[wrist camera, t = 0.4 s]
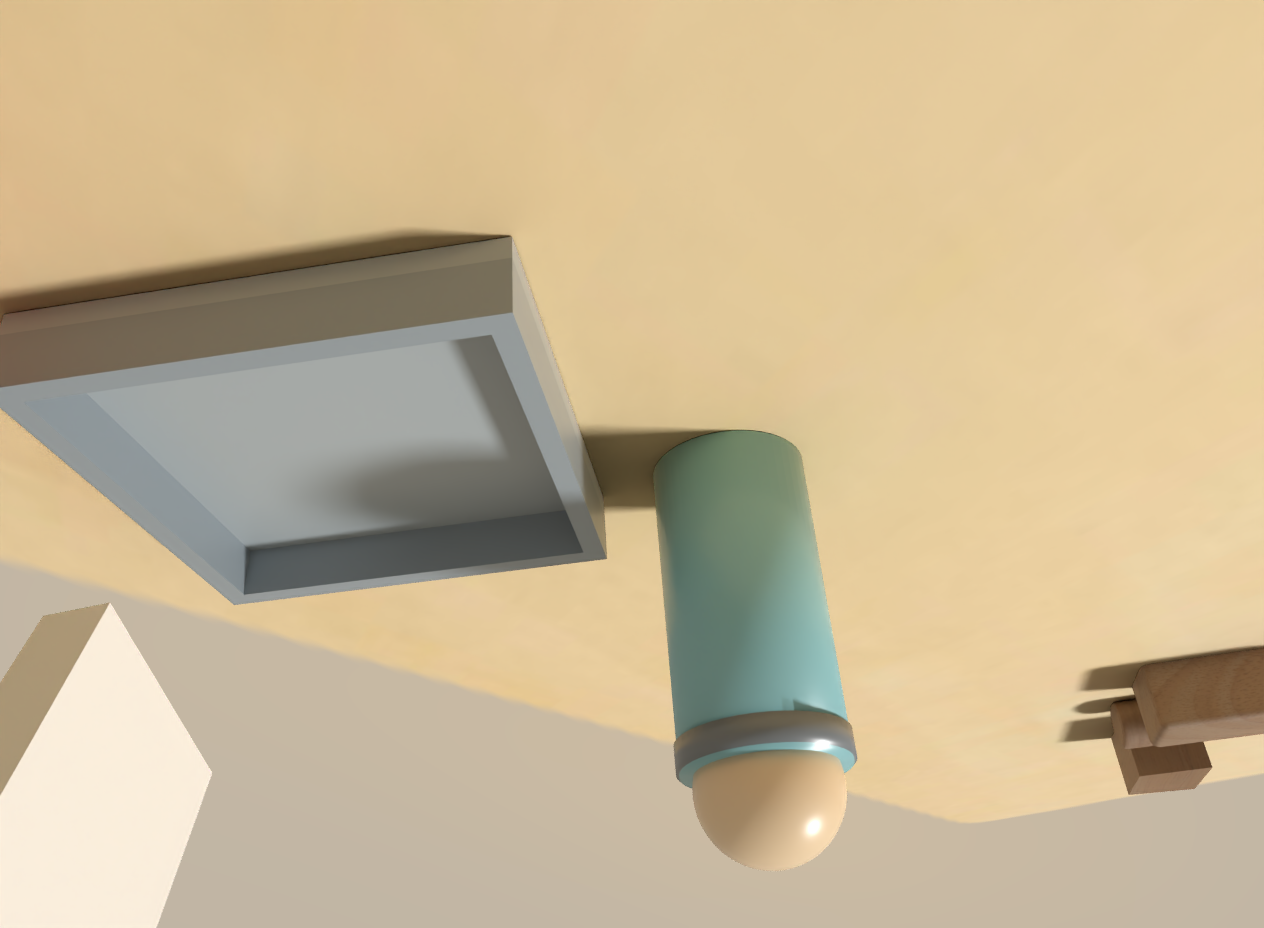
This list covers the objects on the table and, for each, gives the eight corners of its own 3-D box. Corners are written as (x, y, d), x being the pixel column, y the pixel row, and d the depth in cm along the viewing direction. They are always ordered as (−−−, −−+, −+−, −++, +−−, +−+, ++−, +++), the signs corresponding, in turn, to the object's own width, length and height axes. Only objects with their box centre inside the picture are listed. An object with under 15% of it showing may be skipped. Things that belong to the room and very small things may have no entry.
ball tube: (640, 441, 40) (674, 861, 32) (804, 419, 39) (880, 841, 31) (660, 517, 45) (694, 893, 37) (804, 498, 44) (870, 877, 37)
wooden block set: (1152, 747, 64) (1484, 703, 60) (1123, 658, 66) (1438, 613, 63) (1116, 809, 78) (1383, 777, 74) (1094, 733, 81) (1349, 699, 77)
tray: (3, 314, 31) (-21, 390, 30) (512, 236, 30) (512, 312, 29) (242, 544, 45) (234, 604, 43) (603, 497, 43) (606, 558, 42)
